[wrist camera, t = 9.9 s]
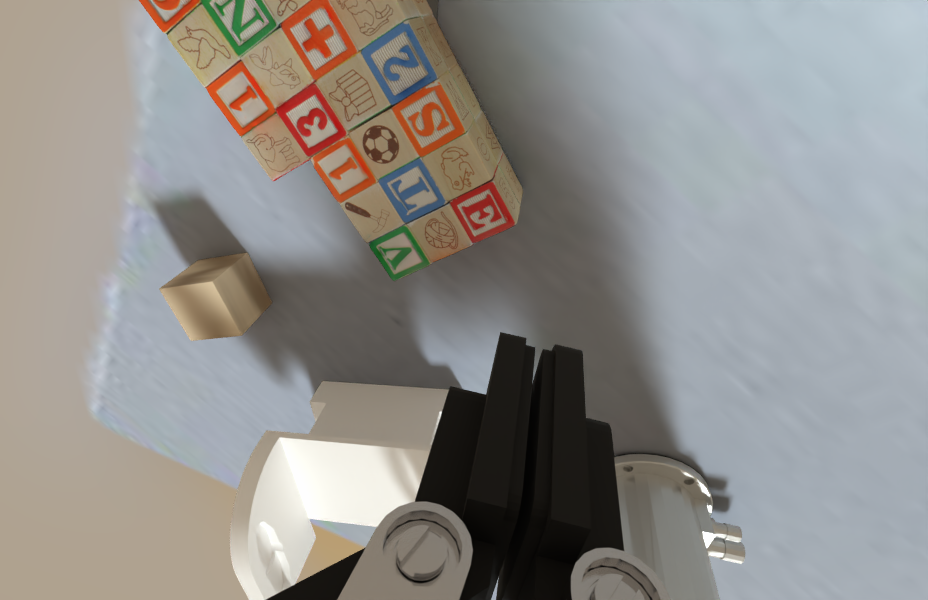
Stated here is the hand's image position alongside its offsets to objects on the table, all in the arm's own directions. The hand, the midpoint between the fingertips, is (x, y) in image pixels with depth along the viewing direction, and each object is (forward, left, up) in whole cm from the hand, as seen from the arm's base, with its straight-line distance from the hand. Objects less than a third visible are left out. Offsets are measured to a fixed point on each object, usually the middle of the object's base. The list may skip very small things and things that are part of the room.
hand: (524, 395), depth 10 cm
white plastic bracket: (+9, +29, -26) cm, 40 cm away
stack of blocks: (+7, -4, -22) cm, 24 cm away
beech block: (+24, +17, -26) cm, 39 cm away
